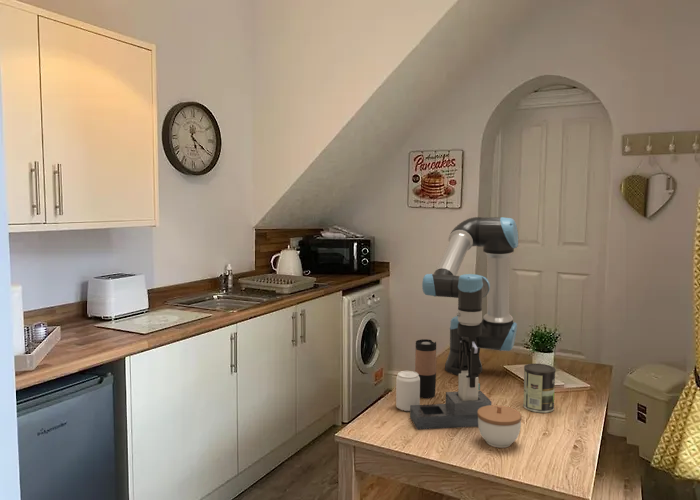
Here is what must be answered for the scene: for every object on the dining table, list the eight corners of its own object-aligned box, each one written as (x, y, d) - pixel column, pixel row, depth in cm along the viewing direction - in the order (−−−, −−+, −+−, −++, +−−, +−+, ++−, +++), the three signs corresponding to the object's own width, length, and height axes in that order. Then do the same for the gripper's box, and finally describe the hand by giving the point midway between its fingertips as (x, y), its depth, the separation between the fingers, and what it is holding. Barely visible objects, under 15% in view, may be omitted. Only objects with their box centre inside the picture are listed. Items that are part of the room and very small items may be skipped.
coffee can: (551, 402, 196) (553, 364, 194) (556, 414, 186) (558, 373, 184) (521, 400, 198) (522, 362, 196) (524, 411, 188) (525, 371, 186)
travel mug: (413, 397, 200) (414, 344, 198) (416, 390, 208) (416, 338, 206) (434, 399, 199) (435, 345, 197) (436, 392, 206) (437, 339, 204)
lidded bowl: (468, 442, 165) (469, 406, 164) (491, 429, 173) (491, 395, 172) (506, 456, 156) (507, 418, 155) (528, 442, 164) (529, 406, 163)
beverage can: (421, 404, 194) (421, 371, 193) (417, 413, 186) (418, 378, 185) (398, 402, 196) (398, 369, 195) (394, 410, 189) (394, 376, 187)
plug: (458, 406, 182) (458, 373, 181) (475, 405, 183) (476, 372, 182) (462, 411, 177) (463, 378, 176) (480, 411, 178) (481, 377, 177)
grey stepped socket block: (410, 416, 183) (410, 393, 183) (480, 413, 186) (480, 390, 185) (417, 429, 173) (417, 405, 173) (490, 425, 176) (491, 401, 175)
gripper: (449, 316, 186) (448, 384, 188) (467, 330, 168) (465, 404, 170) (471, 316, 187) (470, 383, 189) (491, 329, 169) (489, 403, 171)
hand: (468, 392), depth 180 cm, fingers closed on plug, 5 cm apart
